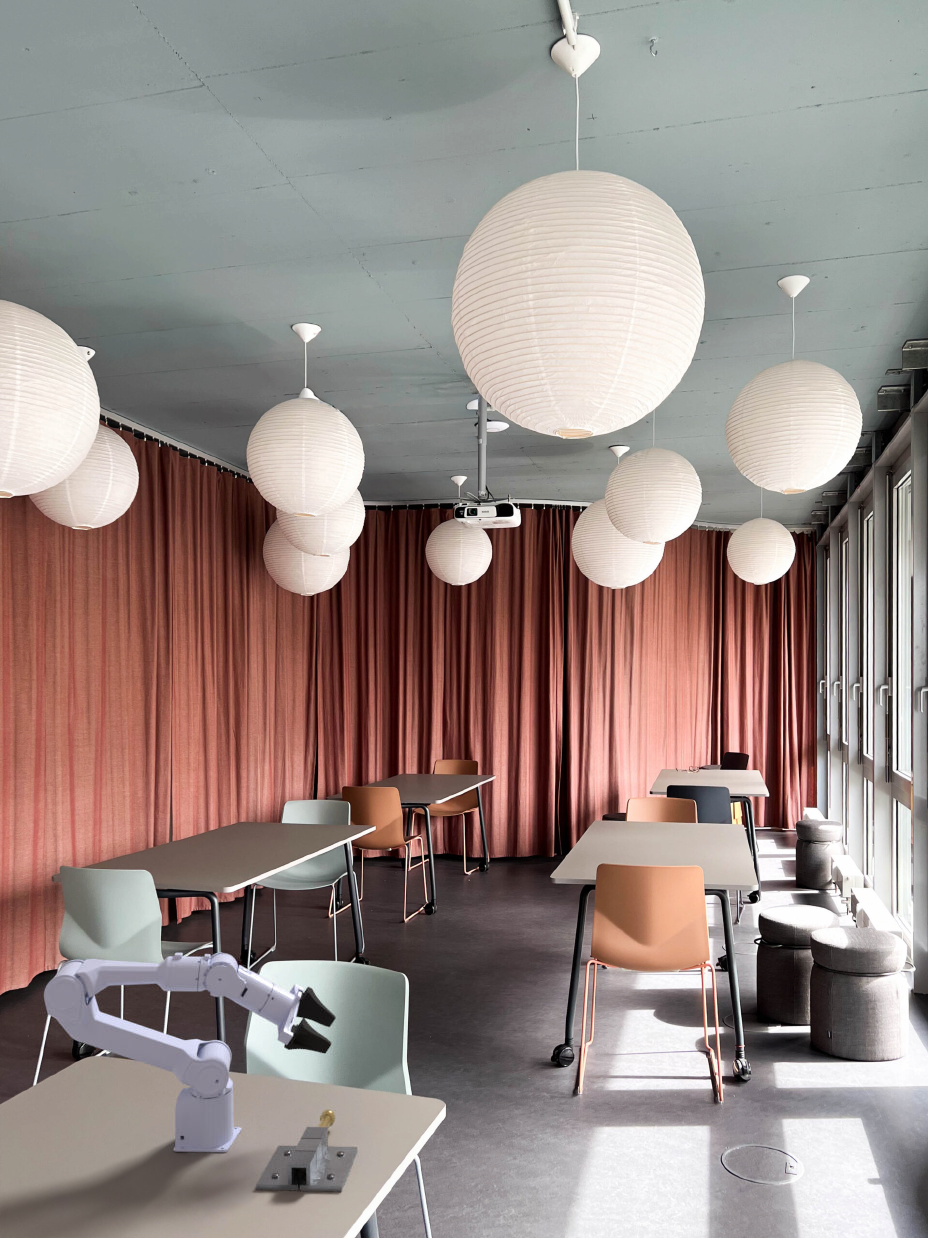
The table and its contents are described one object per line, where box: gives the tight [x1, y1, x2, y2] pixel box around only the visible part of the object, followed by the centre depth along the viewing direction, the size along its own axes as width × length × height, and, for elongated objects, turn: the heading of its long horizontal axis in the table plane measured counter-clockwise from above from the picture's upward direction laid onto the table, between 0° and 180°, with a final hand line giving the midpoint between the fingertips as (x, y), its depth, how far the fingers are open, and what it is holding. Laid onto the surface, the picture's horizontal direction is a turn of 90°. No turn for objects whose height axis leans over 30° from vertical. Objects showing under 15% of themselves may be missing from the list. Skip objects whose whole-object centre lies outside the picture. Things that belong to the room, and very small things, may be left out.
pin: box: [317, 1109, 336, 1129], centre depth 157 cm, size 3×14×3 cm, turn 175°
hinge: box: [256, 1126, 358, 1192], centre depth 150 cm, size 14×12×4 cm
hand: (330, 1035), depth 166 cm, fingers open, 7 cm apart
